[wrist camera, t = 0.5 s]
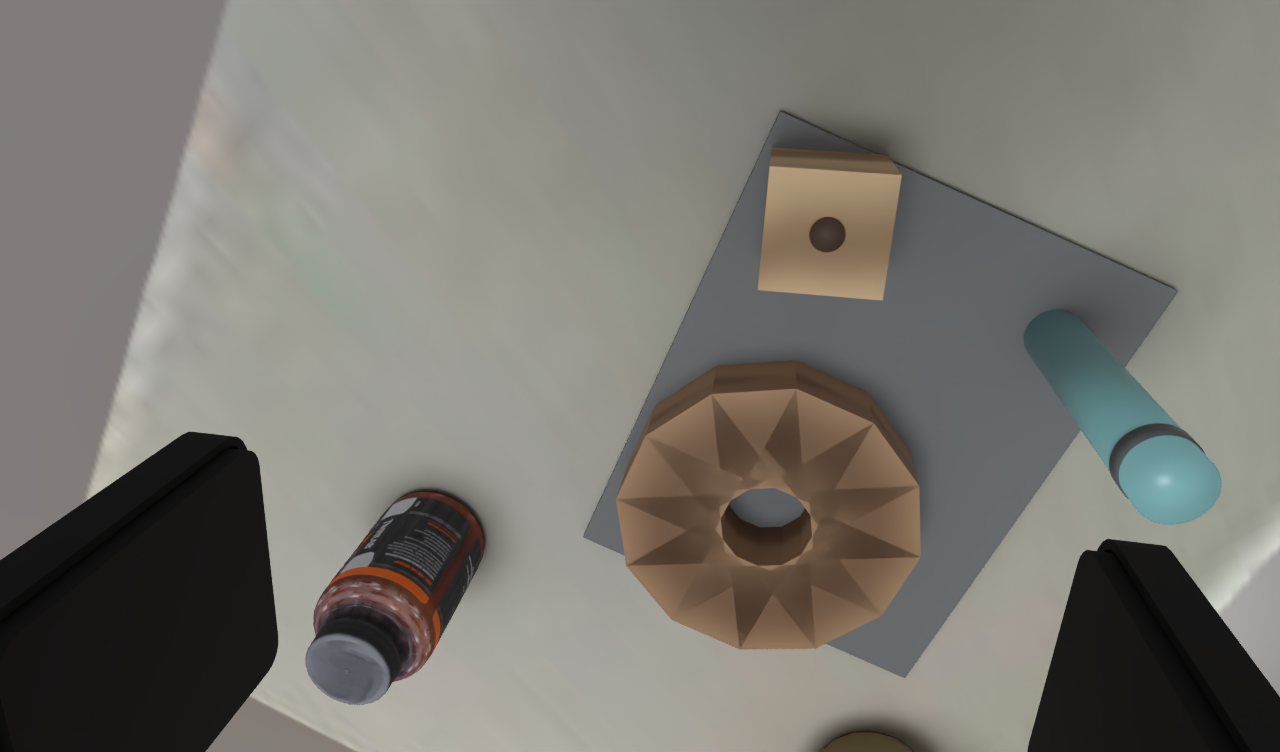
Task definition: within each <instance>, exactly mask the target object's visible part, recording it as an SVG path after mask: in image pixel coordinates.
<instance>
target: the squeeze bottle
mask: <svg viewBox="0 0 1280 752" xmlns="http://www.w3.org/2000/svg"><path fill="white" fill-rule="evenodd" d="M821 752H912V751H911V749H910V748H908V747H907V746H906V745H904V744H903V743H901V742H900V741H898V740H897V739H895V738H893V737H890V736H886V735H883V734H879V733H876V732H860V733H851V734H848V735H845V736H843V737H840V738H837V739H835V740H833V741H832V742H831V743H830V744H829V745H828V746H827V747H825V748H824V749H823V750H822V751H821Z"/></svg>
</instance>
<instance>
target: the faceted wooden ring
mask: <svg viewBox="0 0 1280 752" xmlns="http://www.w3.org/2000/svg"><path fill="white" fill-rule="evenodd" d="M762 488H776V489H778V490H781V491H783V492H785V493H787V494H790V495H792V496H794V497H796V498H798V500H799V501H800V502H801V504H802V505H803V506H804V508H805V509H804V511H803V512H802V514H801V516H800V517H798V518H796V519H795V520H793V521H791V522H789V523H787V524H786V525H784V526H782V527H758V526H755V525H753V524H751V523H748V522H746V521H744V520H742V519H740V518H739V517H738V516H737V515H736V513H735V512H734V511H733V509H732V508H731V507H730V506H729V502H730V501H731V500H732V499H734V498H736V497H737V496H739V495H741V494H743V493H744V492H746V491H748V490H750V489H762ZM616 503H617V510H618V516H619V522H620V529H621V535H622V541H623V548H624V554H625V560H626V566H627V567H628V568H629V569H630V571H631V572H632V573H633V574H634V575H635V577H636V578H637V579H638V580H639V581H640V583H641V584H642V585H643V586H644V587H645V588H646V590H647V591H648V592H649V593H650V594H651V596H652V597H653V598H654V599H655V600H656V602H657V603H658V604H659V605H660V606H661V608H662V609H663V610H664V611H665V612H666V614H667V615H668V616H669V617H670V618H671V619H672V620H674V621H676V622H678V623H681V624H683V625H685V626H687V627H690V628H692V629H694V630H697V631H699V632H701V633H703V634H706V635H708V636H710V637H713V638H715V639H717V640H719V641H722V642H724V643H726V644H729V645H731V646H733V647H735V648H738V649H811V648H817V647H819V646H821V645H824V644H826V643H828V642H830V641H832V640H834V639H836V638H838V637H840V636H842V635H844V634H846V633H848V632H850V631H852V630H854V629H856V628H858V627H860V626H862V625H864V624H866V623H868V622H870V621H872V620H874V619H876V618H878V617H880V616H882V615H883V613H884V612H885V610H886V609H887V607H888V606H889V604H890V603H891V601H892V600H893V598H894V597H895V595H896V594H897V592H898V591H899V589H900V588H901V586H902V585H903V583H904V582H905V580H906V579H907V577H908V576H909V574H910V573H911V571H912V570H913V568H914V567H915V565H916V564H917V562H918V561H919V559H920V558H921V543H920V498H919V483H918V480H917V476H916V472H915V469H914V465H913V462H912V458H911V455H910V451H909V450H908V448H907V447H906V445H905V444H904V443H903V441H902V440H901V438H900V437H899V436H898V434H897V433H896V431H895V430H894V429H893V427H892V426H891V425H890V423H889V422H888V420H887V419H886V418H885V416H884V415H883V413H882V412H881V411H880V409H879V408H878V406H877V405H876V404H875V402H874V401H873V399H872V398H871V397H870V395H869V394H868V392H866V391H864V390H862V389H859V388H857V387H855V386H853V385H850V384H848V383H846V382H844V381H841V380H839V379H837V378H835V377H832V376H830V375H828V374H826V373H823V372H821V371H819V370H817V369H814V368H812V367H810V366H808V365H805V364H803V363H801V362H799V361H796V360H790V361H775V362H761V363H746V364H732V365H717V366H715V367H714V368H712V369H711V370H709V371H708V372H706V373H704V374H703V375H701V376H700V377H698V378H697V379H695V380H694V381H692V382H690V383H689V384H687V385H686V386H684V387H683V388H681V389H680V390H678V391H677V392H675V393H673V394H672V395H670V396H669V397H667V398H666V399H664V400H663V401H661V402H659V403H658V404H656V405H655V407H654V409H653V411H652V413H651V416H650V418H649V420H648V422H647V424H646V426H645V428H644V431H643V433H642V435H641V437H640V439H639V441H638V443H637V445H636V448H635V450H634V452H633V454H632V456H631V458H630V460H629V462H628V465H627V467H626V470H625V473H624V476H623V479H622V482H621V485H620V488H619V491H618V494H617V497H616Z"/></svg>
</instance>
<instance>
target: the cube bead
mask: <svg viewBox="0 0 1280 752" xmlns="http://www.w3.org/2000/svg"><path fill="white" fill-rule="evenodd" d="M901 177H902V175H901V173H900V172H899V170H898V169H897V167H896V166H895V164H894V163H893V161H892V160H891V158H890V157H889V155H882V154H867V153H852V152H836V151H821V150H806V149H790V148H775V147H771V156H770V167H769V177H768V187H767V198H766V208H765V218H764V229H763V239H762V249H761V260H760V271H759V282H758V290H763V291H775V292H787V293H799V294H811V295H823V296H835V297H847V298H859V299H871V300H882V301H883V295H884V289H885V282H886V276H887V269H888V263H889V256H890V249H891V243H892V236H893V230H894V223H895V217H896V210H897V204H898V197H899V190H900V184H901Z"/></svg>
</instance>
